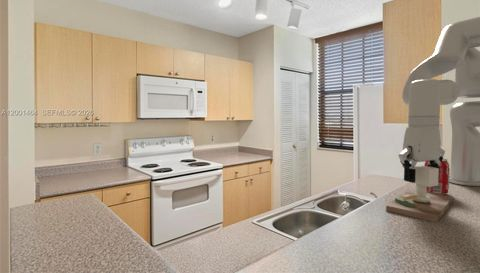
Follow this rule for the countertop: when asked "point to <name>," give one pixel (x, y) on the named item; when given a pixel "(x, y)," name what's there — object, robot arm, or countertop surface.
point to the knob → (423, 183)
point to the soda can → (440, 179)
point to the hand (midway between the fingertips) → (421, 180)
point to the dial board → (421, 206)
